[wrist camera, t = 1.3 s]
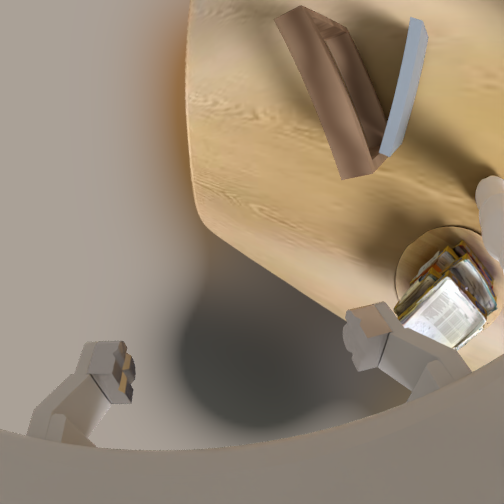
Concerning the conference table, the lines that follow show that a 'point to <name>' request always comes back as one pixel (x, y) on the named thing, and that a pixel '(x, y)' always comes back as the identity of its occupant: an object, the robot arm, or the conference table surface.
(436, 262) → the yellow stacked packages
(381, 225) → the conference table surface
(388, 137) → the door
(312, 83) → the brown wooden frame
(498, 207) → the water bottle
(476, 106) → the conference table surface
